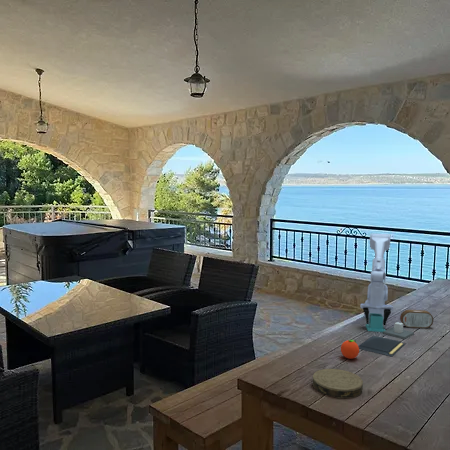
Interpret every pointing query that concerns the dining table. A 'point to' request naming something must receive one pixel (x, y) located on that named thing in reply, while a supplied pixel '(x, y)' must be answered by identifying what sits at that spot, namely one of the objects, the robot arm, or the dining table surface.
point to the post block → (398, 331)
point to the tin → (416, 318)
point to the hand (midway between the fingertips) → (375, 324)
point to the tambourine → (337, 383)
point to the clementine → (350, 349)
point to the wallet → (381, 346)
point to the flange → (375, 323)
